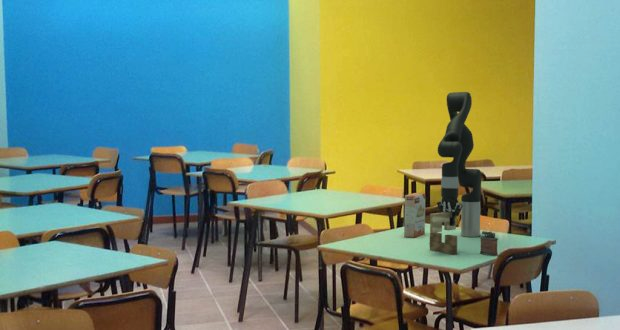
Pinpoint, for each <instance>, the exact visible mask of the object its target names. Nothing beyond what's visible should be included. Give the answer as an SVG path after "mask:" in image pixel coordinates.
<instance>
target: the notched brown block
mask: <svg viewBox="0 0 620 330" xmlns="http://www.w3.org/2000/svg"><path fill="white" fill-rule="evenodd" d="M442 238H443V233H442V232H436V233H432V232H430V231H429V251H432V252H437V253H443V254H448V255H452V256H454V255H457V254H458V235H454V234H445V235H444V241H442V240H443V239H442Z"/></svg>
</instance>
